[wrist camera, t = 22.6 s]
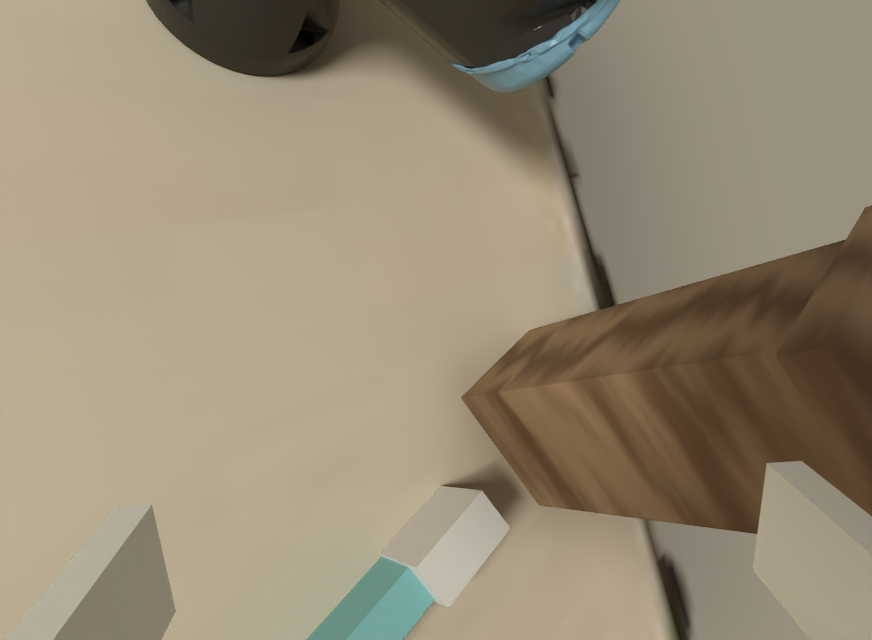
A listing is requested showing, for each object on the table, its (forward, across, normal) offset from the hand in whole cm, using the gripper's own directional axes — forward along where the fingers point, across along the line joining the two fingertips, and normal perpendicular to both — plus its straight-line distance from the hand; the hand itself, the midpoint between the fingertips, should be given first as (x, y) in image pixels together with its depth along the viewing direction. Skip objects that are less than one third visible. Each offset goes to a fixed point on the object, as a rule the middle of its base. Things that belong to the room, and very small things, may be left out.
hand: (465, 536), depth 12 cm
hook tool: (+23, -6, -23) cm, 33 cm away
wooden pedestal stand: (+36, +9, -16) cm, 40 cm away
